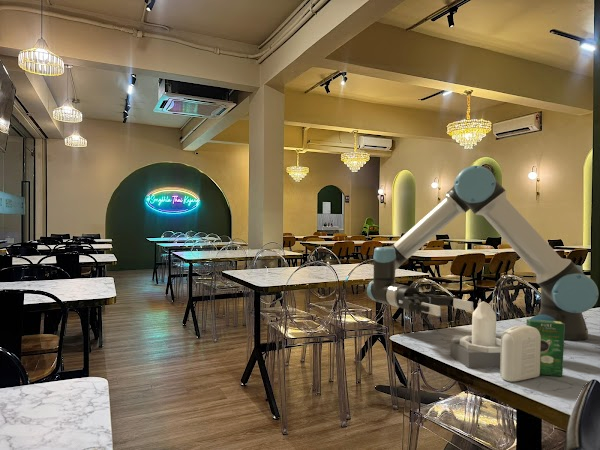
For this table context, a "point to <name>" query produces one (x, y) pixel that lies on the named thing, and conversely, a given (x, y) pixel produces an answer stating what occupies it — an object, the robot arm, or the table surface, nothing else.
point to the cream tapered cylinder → (484, 325)
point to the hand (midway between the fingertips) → (456, 309)
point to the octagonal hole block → (475, 353)
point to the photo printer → (520, 353)
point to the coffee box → (550, 345)
